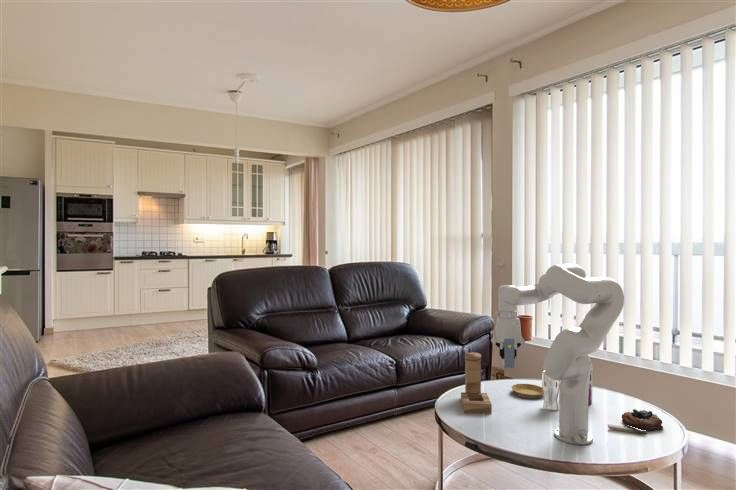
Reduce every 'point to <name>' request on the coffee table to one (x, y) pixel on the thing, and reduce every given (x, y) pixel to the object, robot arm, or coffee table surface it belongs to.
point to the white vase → (550, 392)
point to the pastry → (642, 420)
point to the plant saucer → (528, 390)
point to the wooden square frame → (474, 387)
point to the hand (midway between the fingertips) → (507, 357)
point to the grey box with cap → (508, 353)
